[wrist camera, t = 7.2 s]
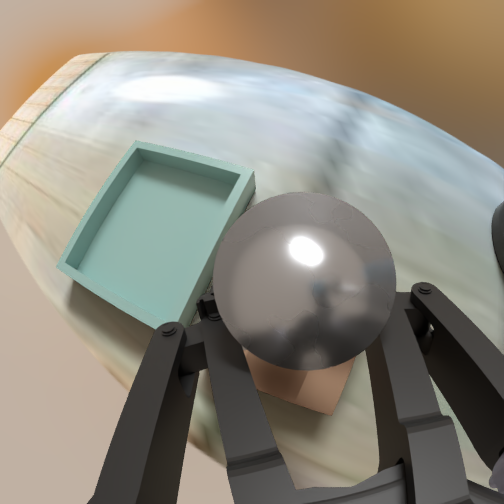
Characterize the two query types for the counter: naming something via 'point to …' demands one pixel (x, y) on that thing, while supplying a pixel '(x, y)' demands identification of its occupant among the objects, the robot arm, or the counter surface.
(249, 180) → the tray
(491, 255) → the counter surface
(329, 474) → the counter surface
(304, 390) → the holder
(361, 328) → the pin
